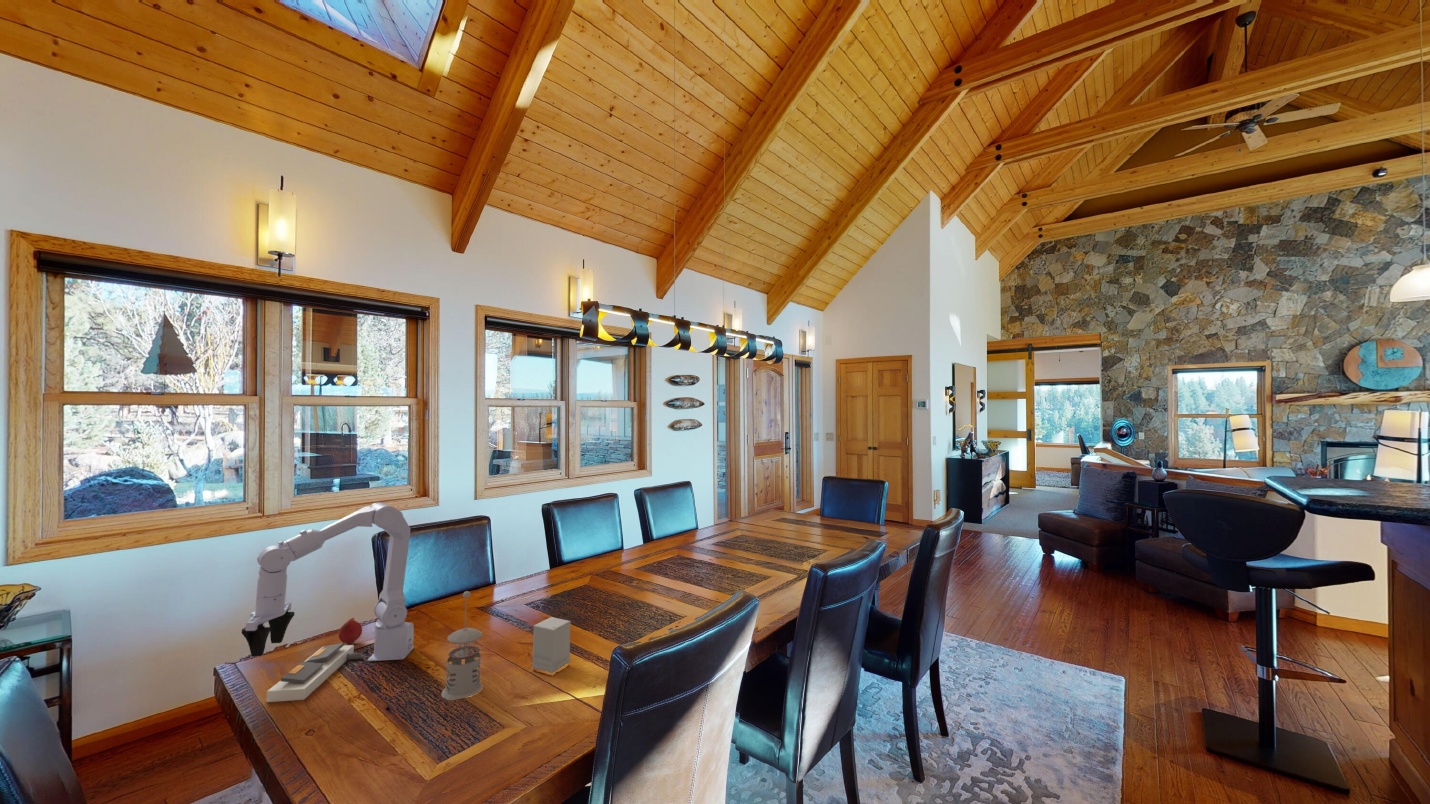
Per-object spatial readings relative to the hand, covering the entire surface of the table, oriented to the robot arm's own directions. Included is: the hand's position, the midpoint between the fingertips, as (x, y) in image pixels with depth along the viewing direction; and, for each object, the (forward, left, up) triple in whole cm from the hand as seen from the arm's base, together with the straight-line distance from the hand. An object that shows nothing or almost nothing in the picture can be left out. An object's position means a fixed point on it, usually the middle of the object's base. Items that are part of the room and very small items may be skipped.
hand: (267, 648), depth 132 cm
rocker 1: (-8, 0, -6) cm, 10 cm away
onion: (-8, -25, -10) cm, 28 cm away
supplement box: (-69, -1, -10) cm, 70 cm away
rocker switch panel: (-10, -5, -10) cm, 15 cm away
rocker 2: (-8, -11, -6) cm, 15 cm away
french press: (-48, +7, -10) cm, 50 cm away
